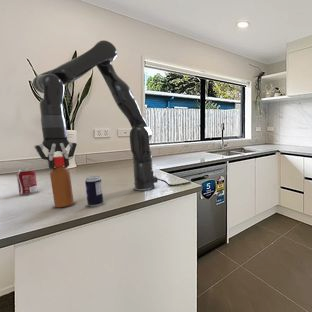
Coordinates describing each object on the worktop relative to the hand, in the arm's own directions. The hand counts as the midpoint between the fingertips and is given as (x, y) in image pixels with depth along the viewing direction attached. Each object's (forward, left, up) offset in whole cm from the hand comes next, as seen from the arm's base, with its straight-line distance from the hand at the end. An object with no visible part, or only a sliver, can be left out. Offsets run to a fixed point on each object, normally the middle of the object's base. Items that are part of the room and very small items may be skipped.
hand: (59, 168), depth 91 cm
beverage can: (-12, +5, -16) cm, 21 cm away
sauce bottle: (0, 0, -16) cm, 16 cm away
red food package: (+19, -29, -16) cm, 38 cm away
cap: (0, 0, +1) cm, 1 cm away
